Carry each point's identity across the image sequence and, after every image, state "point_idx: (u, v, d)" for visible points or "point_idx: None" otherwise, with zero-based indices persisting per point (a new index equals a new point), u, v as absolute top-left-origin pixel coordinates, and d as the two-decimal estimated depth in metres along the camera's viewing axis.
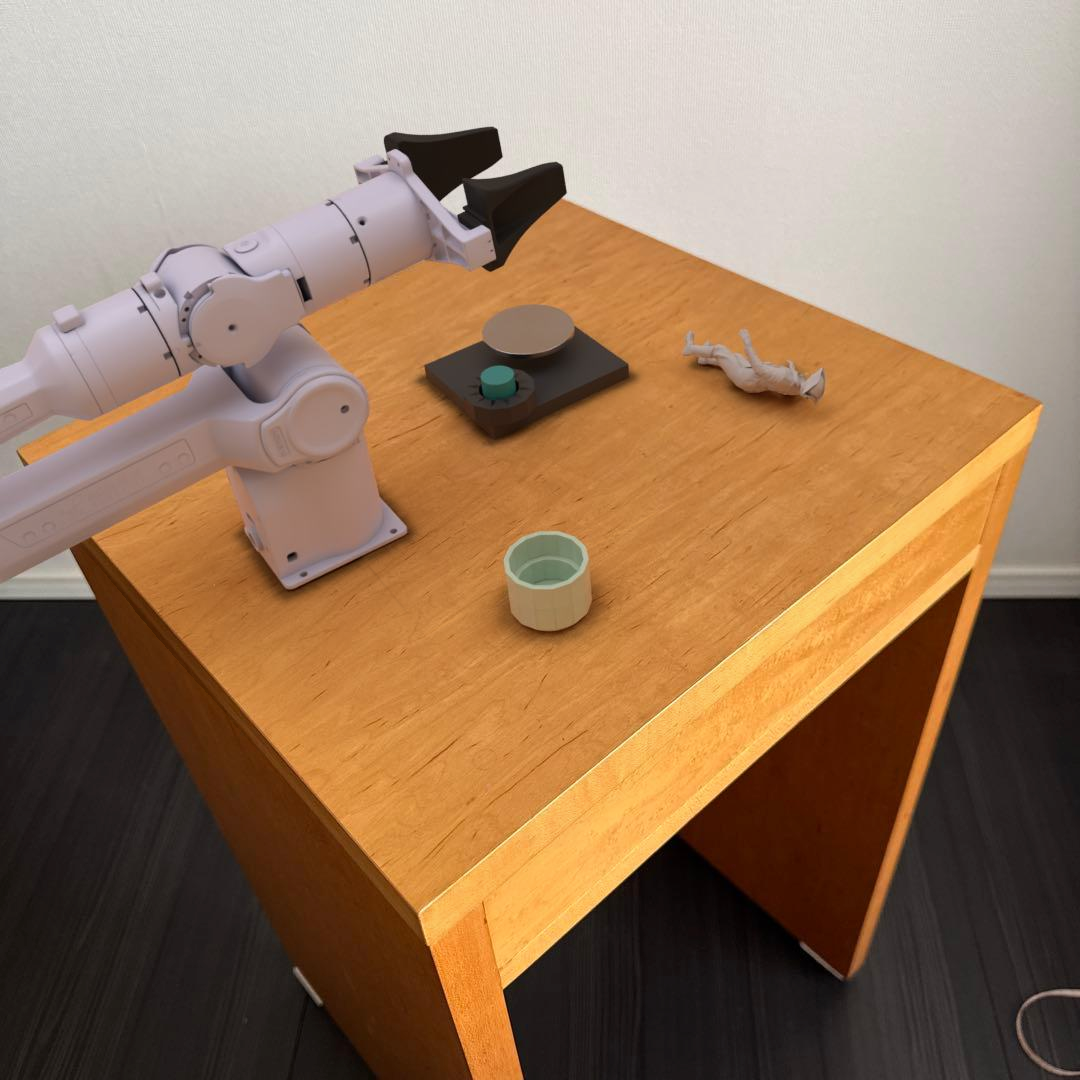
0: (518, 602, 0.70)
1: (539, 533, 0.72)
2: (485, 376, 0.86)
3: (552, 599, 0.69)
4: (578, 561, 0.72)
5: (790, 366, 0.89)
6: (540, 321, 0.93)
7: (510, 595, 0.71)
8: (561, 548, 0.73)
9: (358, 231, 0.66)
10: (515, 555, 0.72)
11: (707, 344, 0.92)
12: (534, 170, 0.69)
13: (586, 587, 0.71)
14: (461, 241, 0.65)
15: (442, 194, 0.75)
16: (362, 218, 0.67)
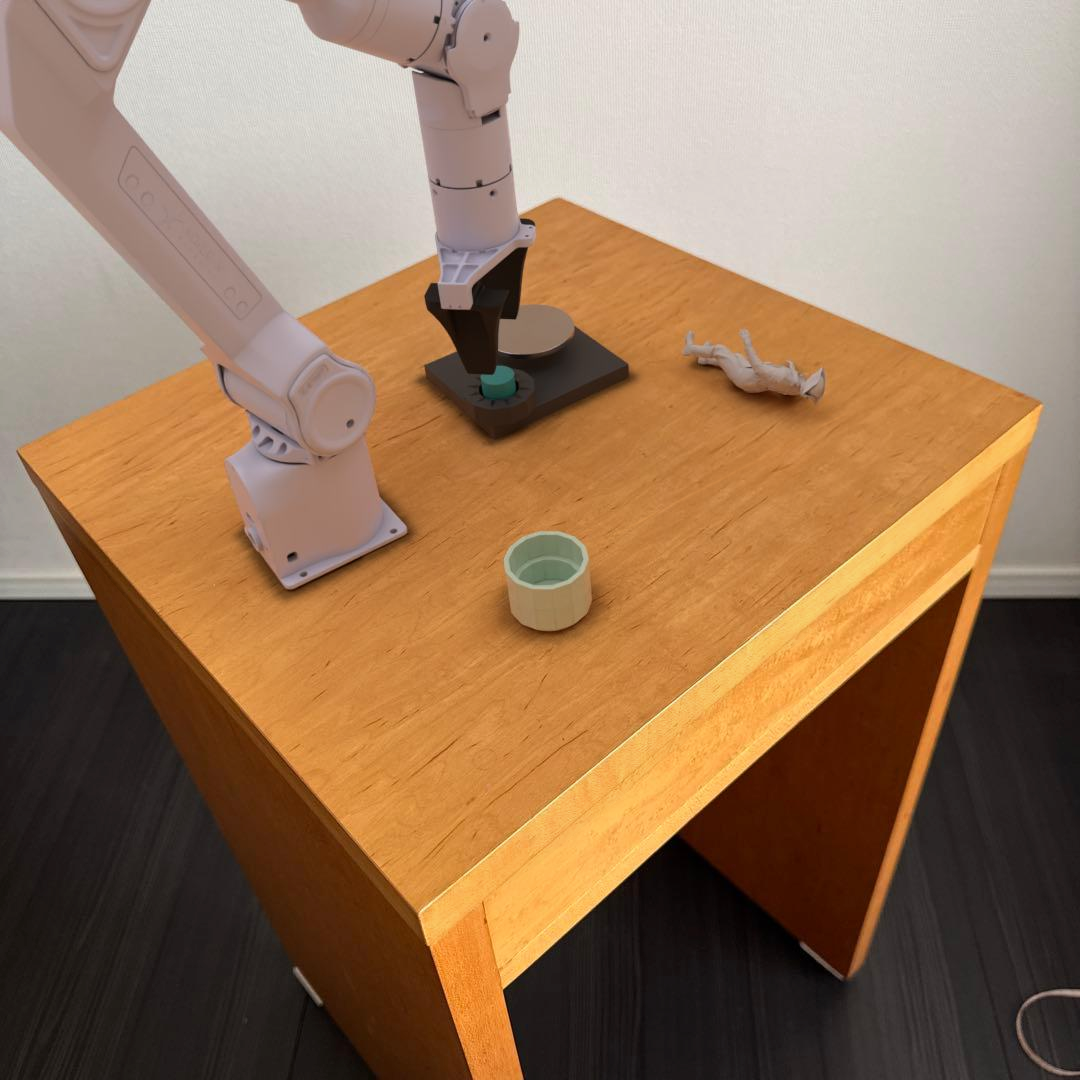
0: (518, 602, 0.70)
1: (539, 533, 0.72)
2: (485, 376, 0.86)
3: (552, 599, 0.69)
4: (578, 561, 0.72)
5: (790, 366, 0.89)
6: (540, 321, 0.93)
7: (510, 595, 0.71)
8: (561, 548, 0.73)
9: (487, 188, 0.73)
10: (515, 555, 0.72)
11: (707, 344, 0.92)
12: (496, 351, 0.80)
13: (586, 587, 0.71)
14: (467, 282, 0.73)
15: None
16: (495, 194, 0.74)
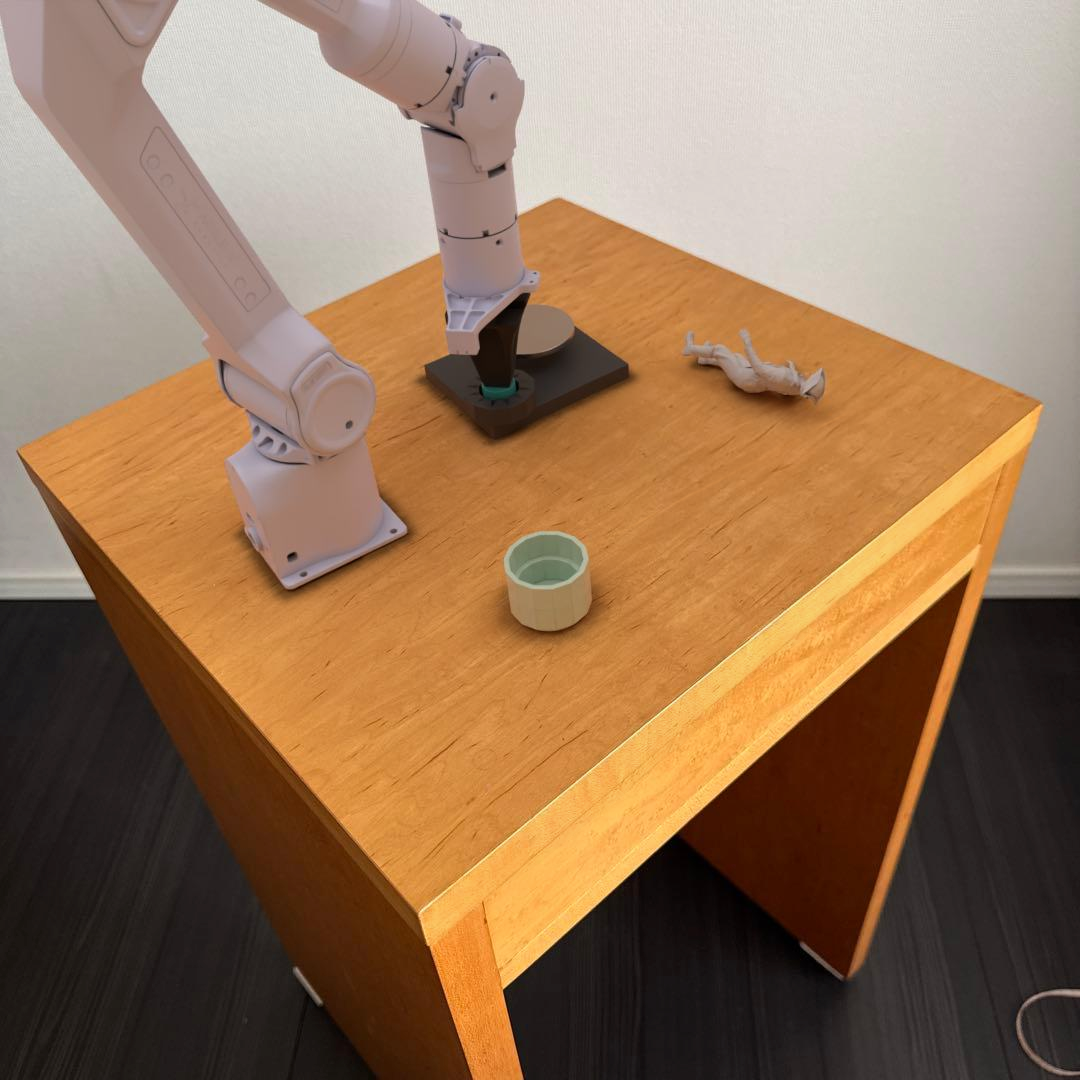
0: (518, 602, 0.70)
1: (539, 533, 0.72)
2: None
3: (552, 599, 0.69)
4: (578, 561, 0.72)
5: (790, 366, 0.89)
6: (540, 321, 0.93)
7: (510, 595, 0.71)
8: (561, 548, 0.73)
9: (493, 238, 0.76)
10: (515, 555, 0.72)
11: (707, 344, 0.92)
12: (512, 365, 0.85)
13: (586, 587, 0.71)
14: (474, 329, 0.75)
15: None
16: (501, 243, 0.76)
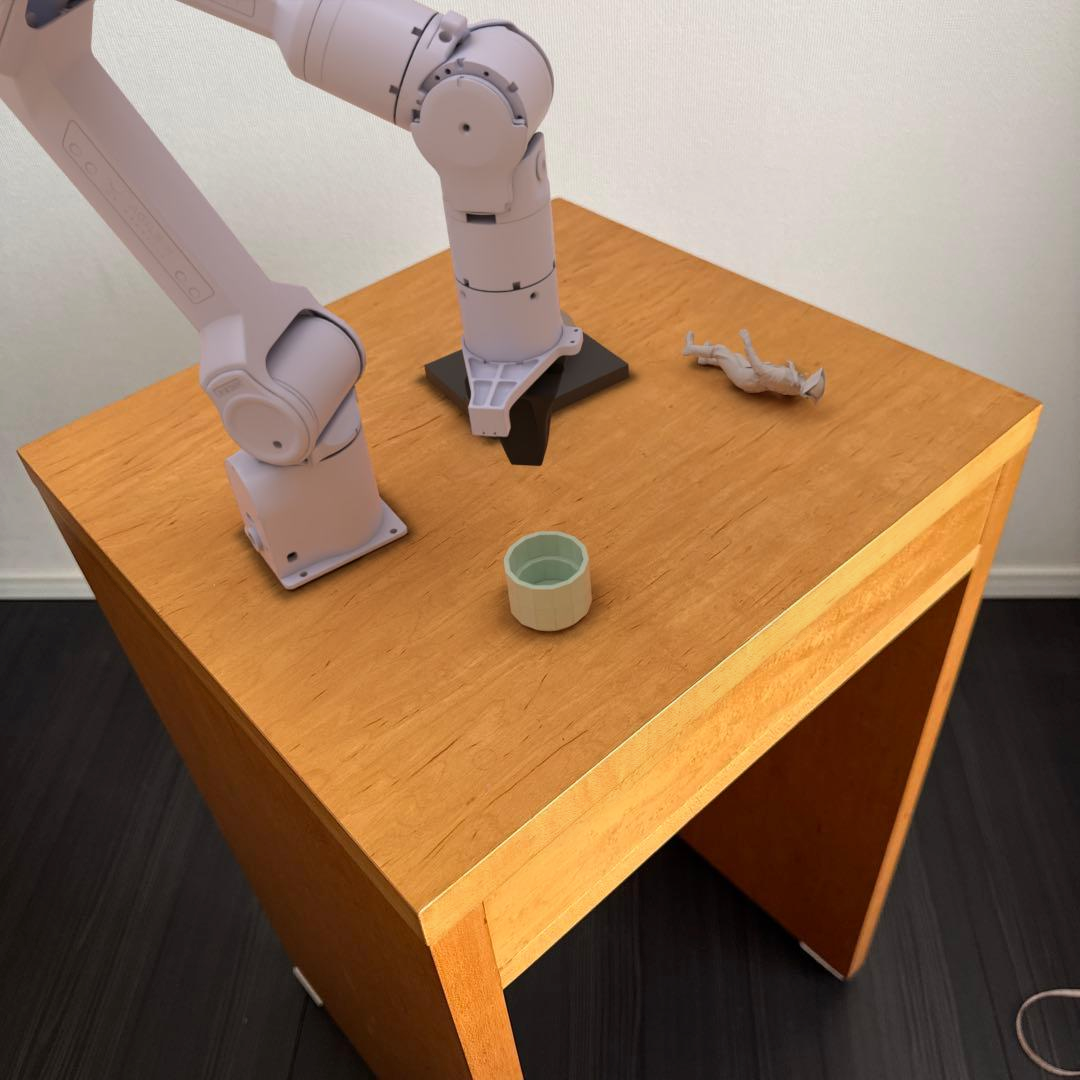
0: (518, 602, 0.70)
1: (539, 533, 0.72)
2: None
3: (552, 599, 0.69)
4: (578, 561, 0.72)
5: (790, 366, 0.89)
6: None
7: (510, 595, 0.71)
8: (561, 548, 0.73)
9: (527, 291, 0.60)
10: (515, 555, 0.72)
11: (707, 344, 0.92)
12: (545, 440, 0.69)
13: (586, 587, 0.71)
14: (504, 406, 0.60)
15: None
16: (536, 297, 0.61)
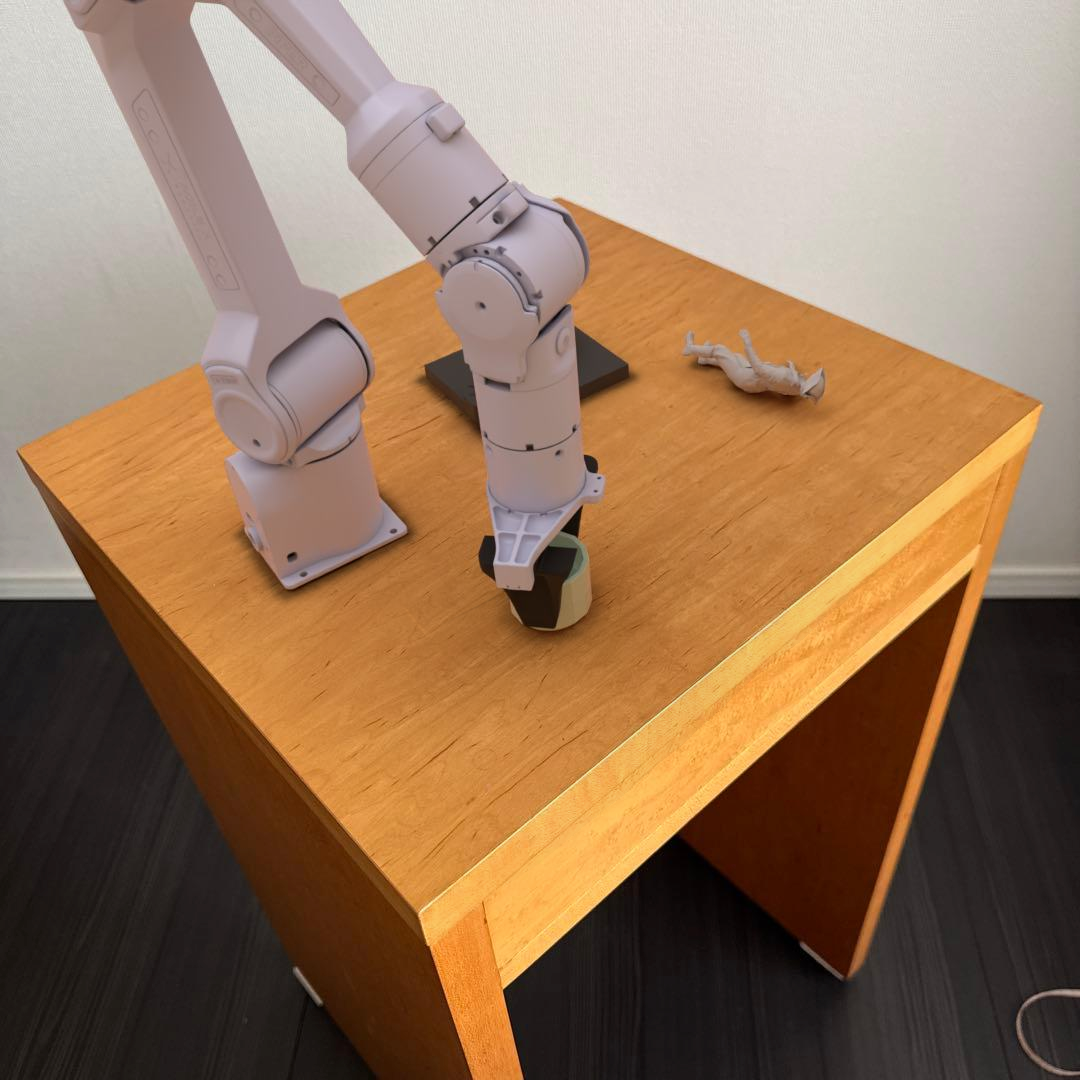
0: None
1: None
2: None
3: None
4: (578, 561, 0.72)
5: (790, 366, 0.89)
6: None
7: None
8: None
9: (552, 449, 0.61)
10: None
11: (707, 344, 0.92)
12: (559, 606, 0.69)
13: (586, 587, 0.71)
14: (528, 563, 0.61)
15: None
16: (561, 453, 0.62)
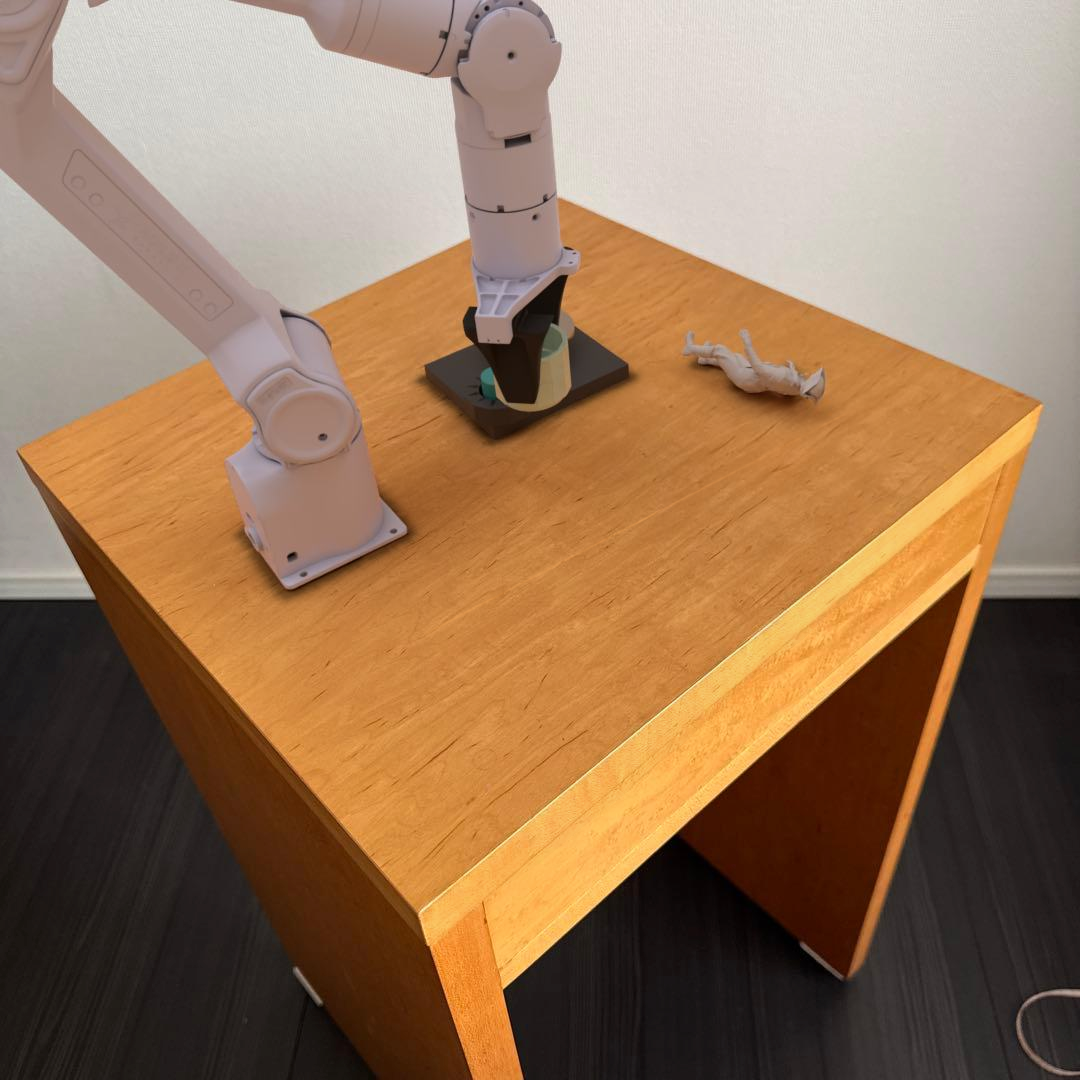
0: None
1: None
2: (485, 376, 0.86)
3: None
4: (558, 348, 0.78)
5: (790, 366, 0.89)
6: None
7: None
8: None
9: (529, 212, 0.67)
10: None
11: (707, 344, 0.92)
12: (538, 379, 0.74)
13: (565, 368, 0.77)
14: (507, 315, 0.67)
15: None
16: (538, 218, 0.68)
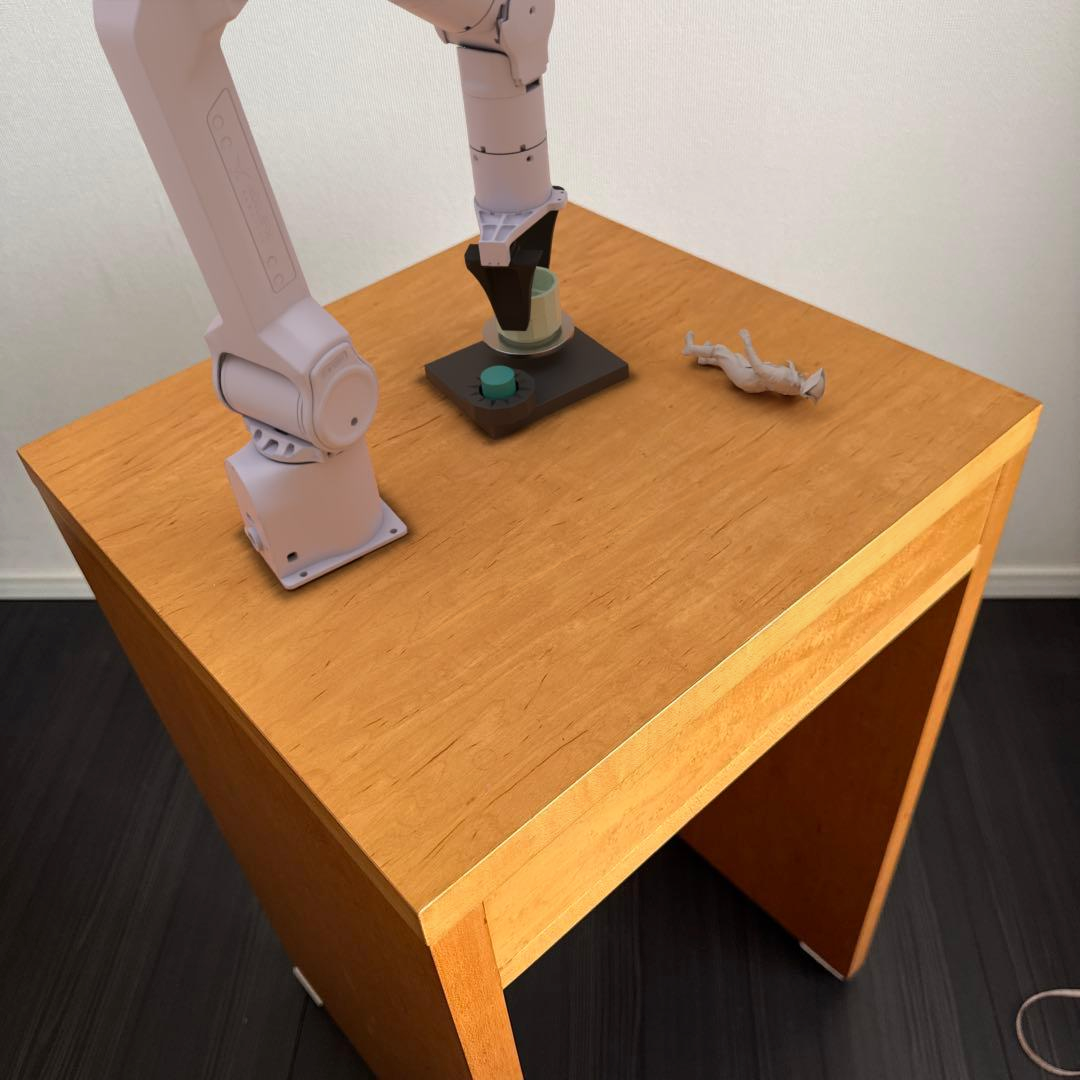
0: None
1: None
2: (485, 376, 0.86)
3: None
4: None
5: (790, 366, 0.89)
6: None
7: None
8: (537, 280, 0.92)
9: (524, 154, 0.79)
10: None
11: (707, 344, 0.92)
12: (529, 308, 0.86)
13: (556, 305, 0.89)
14: (505, 240, 0.79)
15: None
16: (531, 160, 0.80)
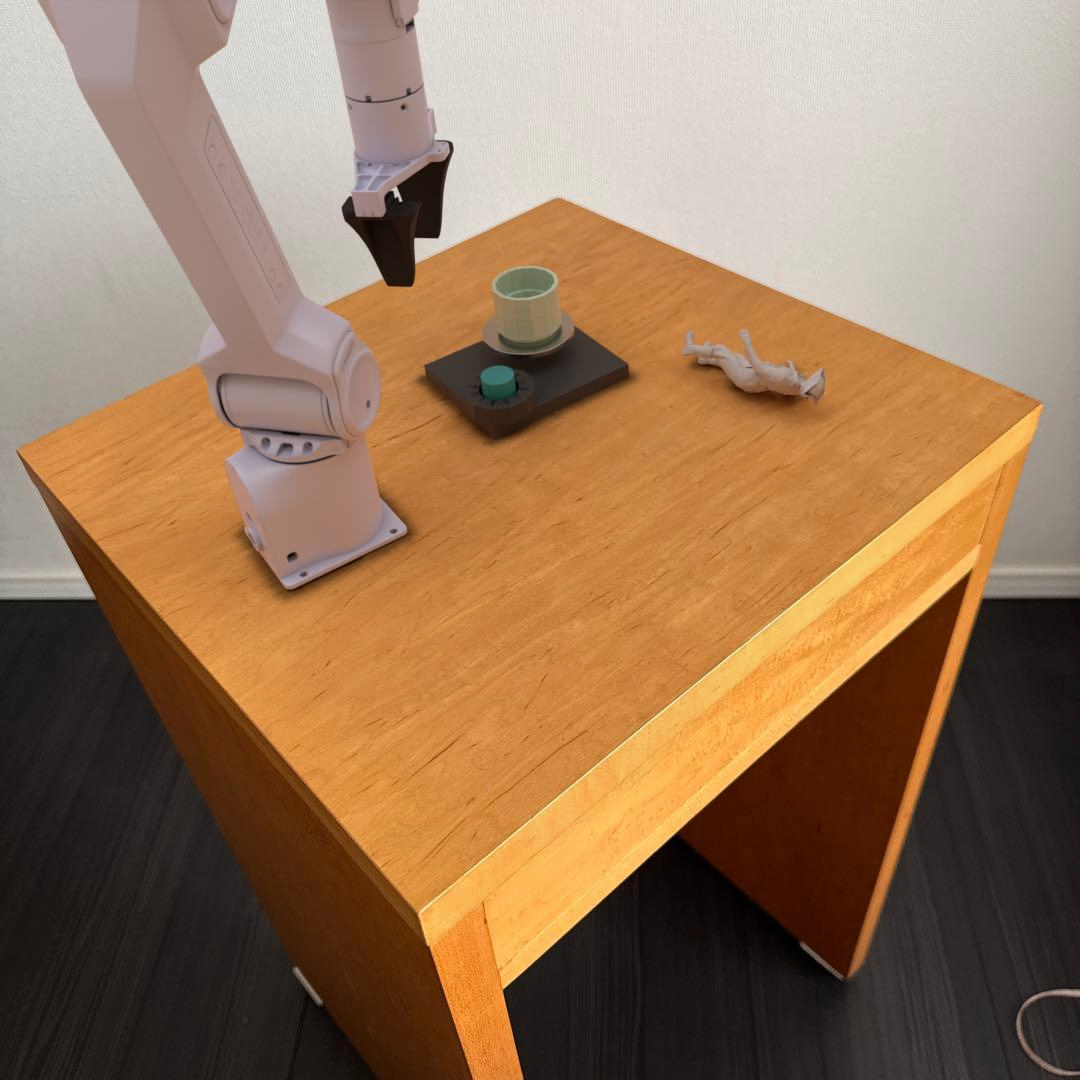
0: (503, 316, 0.89)
1: (520, 267, 0.91)
2: (485, 376, 0.86)
3: (529, 309, 0.88)
4: None
5: (790, 366, 0.89)
6: None
7: (496, 312, 0.90)
8: (537, 280, 0.92)
9: (397, 102, 0.78)
10: (500, 283, 0.91)
11: (707, 344, 0.92)
12: (413, 263, 0.84)
13: (556, 305, 0.89)
14: (378, 190, 0.78)
15: None
16: (406, 108, 0.79)
